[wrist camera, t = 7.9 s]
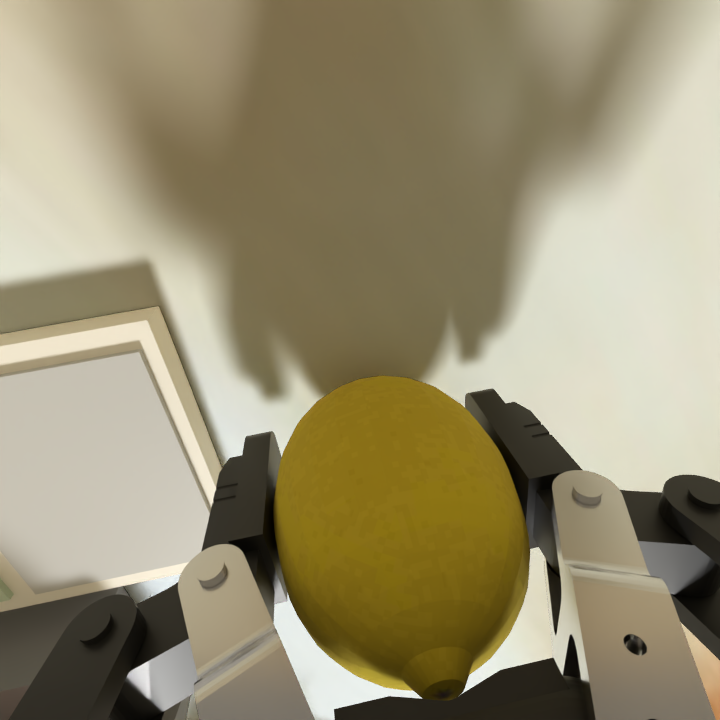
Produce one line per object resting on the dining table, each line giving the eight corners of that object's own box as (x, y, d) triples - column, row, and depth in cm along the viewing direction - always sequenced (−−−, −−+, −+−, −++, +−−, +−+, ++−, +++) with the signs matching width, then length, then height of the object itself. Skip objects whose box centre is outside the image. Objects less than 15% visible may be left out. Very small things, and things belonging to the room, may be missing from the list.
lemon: (444, 312, 12) (643, 537, 5) (454, 455, 15) (595, 734, 8) (258, 350, 12) (206, 639, 5) (301, 489, 15) (306, 808, 8)
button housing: (120, 582, 16) (85, 672, 13) (191, 691, 19) (174, 778, 17) (-164, 643, 15) (-262, 749, 12) (-34, 742, 19) (-88, 841, 16)
